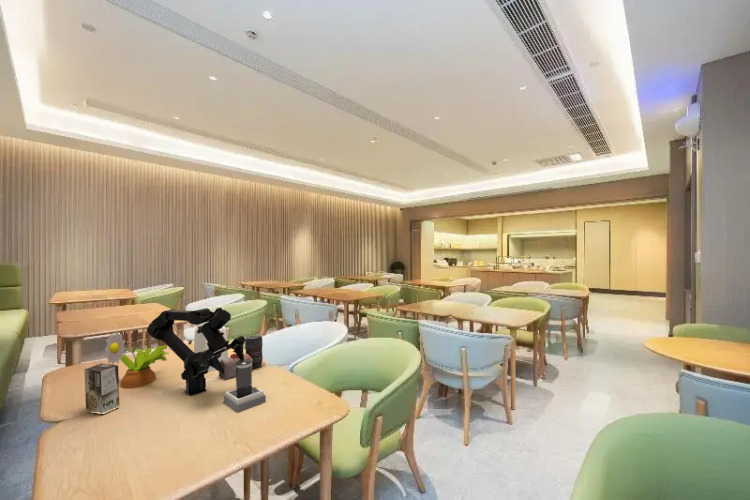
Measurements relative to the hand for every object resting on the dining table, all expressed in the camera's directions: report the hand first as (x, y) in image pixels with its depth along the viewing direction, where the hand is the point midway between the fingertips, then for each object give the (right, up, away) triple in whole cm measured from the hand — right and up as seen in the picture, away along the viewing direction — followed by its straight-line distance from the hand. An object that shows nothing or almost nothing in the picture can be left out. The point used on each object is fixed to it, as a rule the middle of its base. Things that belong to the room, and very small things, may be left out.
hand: (234, 367), depth 134 cm
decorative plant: (-48, -13, +18) cm, 53 cm away
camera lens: (-4, -12, +35) cm, 37 cm away
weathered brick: (-9, -12, +25) cm, 29 cm away
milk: (-26, -12, +36) cm, 46 cm away
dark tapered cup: (+5, -9, -3) cm, 11 cm away
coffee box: (-45, -13, -8) cm, 48 cm away
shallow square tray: (+5, -12, -3) cm, 14 cm away
